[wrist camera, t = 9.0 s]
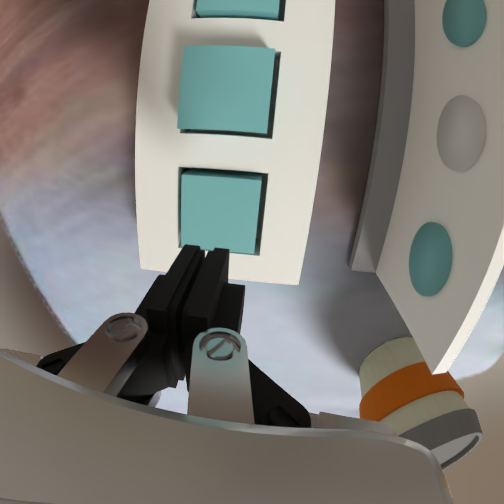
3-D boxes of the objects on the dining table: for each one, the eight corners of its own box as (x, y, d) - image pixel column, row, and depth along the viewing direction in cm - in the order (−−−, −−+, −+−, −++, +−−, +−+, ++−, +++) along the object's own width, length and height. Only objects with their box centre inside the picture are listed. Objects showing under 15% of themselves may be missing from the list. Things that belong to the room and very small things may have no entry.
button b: (273, 60, 16) (275, 48, 13) (266, 131, 18) (266, 133, 15) (197, 57, 16) (184, 46, 13) (191, 126, 18) (176, 128, 15)
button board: (326, -32, 13) (336, -54, 10) (293, 259, 25) (298, 285, 21) (178, -38, 13) (164, -59, 10) (157, 246, 25) (141, 268, 21)
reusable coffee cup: (348, 335, 29) (383, 462, 15) (446, 315, 27) (505, 413, 14) (341, 400, 34) (358, 498, 21) (423, 381, 33) (455, 466, 19)
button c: (261, 171, 20) (261, 180, 17) (255, 234, 23) (254, 253, 20) (193, 165, 20) (181, 174, 17) (192, 228, 23) (181, 246, 20)
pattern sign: (442, 9, 13) (537, -24, 2) (404, 270, 25) (470, 368, 13) (383, -16, 13) (463, -81, 2) (348, 265, 25) (399, 378, 13)
